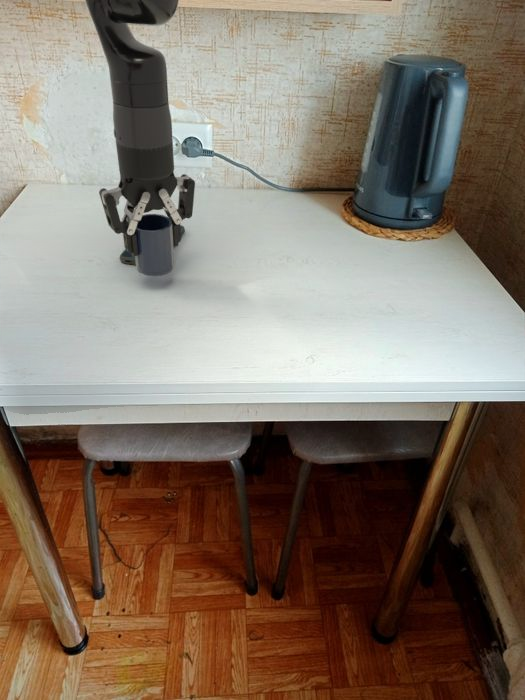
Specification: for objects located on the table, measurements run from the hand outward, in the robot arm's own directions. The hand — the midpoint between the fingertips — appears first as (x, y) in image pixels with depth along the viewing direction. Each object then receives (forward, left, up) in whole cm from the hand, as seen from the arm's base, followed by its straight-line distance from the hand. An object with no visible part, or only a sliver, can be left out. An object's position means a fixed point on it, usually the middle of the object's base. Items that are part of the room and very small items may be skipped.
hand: (154, 248), depth 79 cm
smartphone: (+5, +12, -6) cm, 15 cm away
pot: (0, 0, -3) cm, 3 cm away
